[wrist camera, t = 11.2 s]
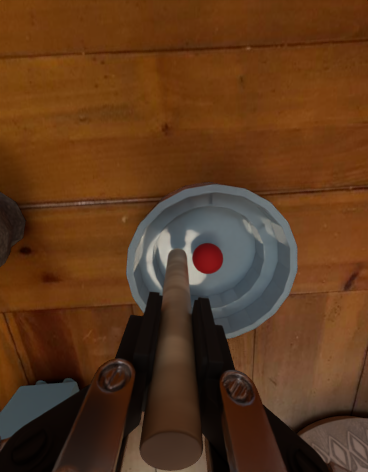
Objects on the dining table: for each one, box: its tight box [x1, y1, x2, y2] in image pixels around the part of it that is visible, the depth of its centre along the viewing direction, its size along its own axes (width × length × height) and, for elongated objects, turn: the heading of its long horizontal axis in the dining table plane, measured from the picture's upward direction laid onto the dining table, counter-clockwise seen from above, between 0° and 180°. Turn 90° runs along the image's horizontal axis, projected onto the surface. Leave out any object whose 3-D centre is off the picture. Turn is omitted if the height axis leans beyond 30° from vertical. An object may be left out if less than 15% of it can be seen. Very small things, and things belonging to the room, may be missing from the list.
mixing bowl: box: [126, 182, 297, 339], centre depth 19 cm, size 14×14×5 cm
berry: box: [192, 243, 223, 274], centre depth 20 cm, size 3×3×3 cm
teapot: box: [0, 378, 79, 440], centre depth 24 cm, size 12×6×8 cm, turn 95°
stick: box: [139, 248, 203, 471], centre depth 12 cm, size 2×2×14 cm
